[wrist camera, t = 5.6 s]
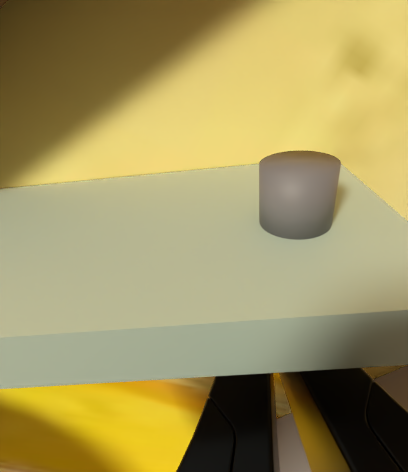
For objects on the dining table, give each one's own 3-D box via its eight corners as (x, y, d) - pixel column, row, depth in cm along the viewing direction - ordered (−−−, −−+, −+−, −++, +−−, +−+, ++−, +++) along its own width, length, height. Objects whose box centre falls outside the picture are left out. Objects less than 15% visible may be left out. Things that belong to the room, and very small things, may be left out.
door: (-4, 223, 10) (-212, 401, 5) (-42, 153, 9) (-371, 297, 4) (327, 193, 10) (468, 361, 4) (338, 113, 8) (551, 221, 3)
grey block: (295, 455, 20) (316, 552, 16) (248, 426, 18) (260, 529, 14) (451, 401, 16) (525, 508, 13) (415, 357, 14) (491, 469, 11)
